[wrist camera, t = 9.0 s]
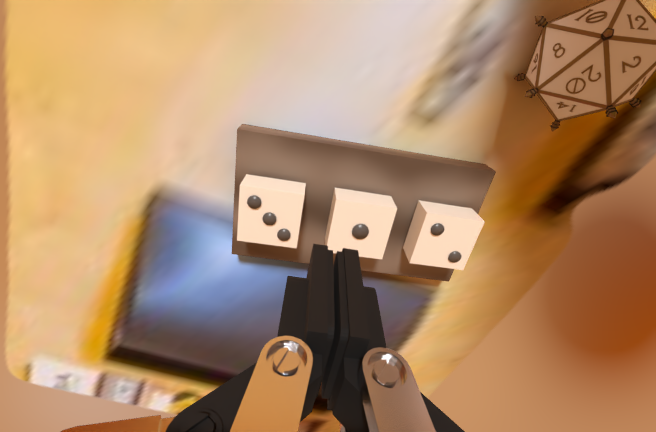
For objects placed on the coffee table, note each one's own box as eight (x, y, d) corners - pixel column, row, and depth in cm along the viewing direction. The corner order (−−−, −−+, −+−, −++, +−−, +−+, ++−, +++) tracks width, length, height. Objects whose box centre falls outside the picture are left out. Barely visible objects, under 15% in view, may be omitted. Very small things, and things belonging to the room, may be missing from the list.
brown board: (242, 123, 27) (237, 129, 26) (485, 164, 29) (495, 171, 28) (236, 242, 33) (231, 253, 31) (442, 269, 35) (448, 281, 33)
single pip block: (334, 187, 28) (336, 200, 25) (391, 196, 28) (397, 209, 26) (325, 237, 30) (325, 253, 27) (377, 244, 30) (382, 260, 28)
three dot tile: (246, 174, 27) (239, 186, 24) (305, 183, 27) (304, 195, 25) (243, 225, 29) (236, 241, 27) (298, 233, 30) (296, 249, 27)
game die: (526, 82, 30) (556, 173, 26) (482, 23, 25) (509, 122, 21) (658, 10, 24) (726, 114, 19) (633, -89, 19) (718, 20, 14)
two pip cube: (418, 200, 28) (427, 213, 26) (472, 208, 29) (485, 222, 26) (402, 247, 30) (410, 264, 28) (452, 254, 31) (463, 271, 29)
